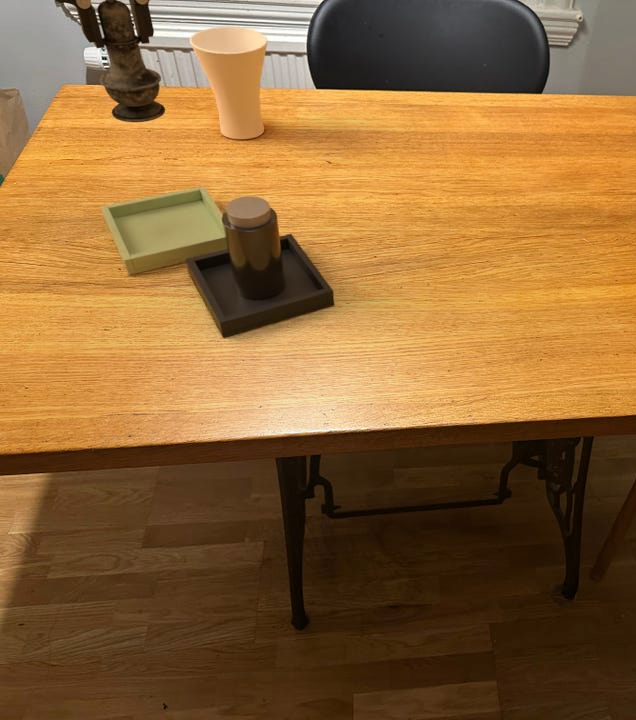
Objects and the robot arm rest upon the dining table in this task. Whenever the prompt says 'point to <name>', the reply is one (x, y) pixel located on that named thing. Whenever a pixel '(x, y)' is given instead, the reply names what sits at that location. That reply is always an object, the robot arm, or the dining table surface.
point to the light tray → (165, 228)
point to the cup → (234, 76)
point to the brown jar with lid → (254, 248)
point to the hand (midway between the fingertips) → (121, 42)
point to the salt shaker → (127, 67)
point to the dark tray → (244, 314)
